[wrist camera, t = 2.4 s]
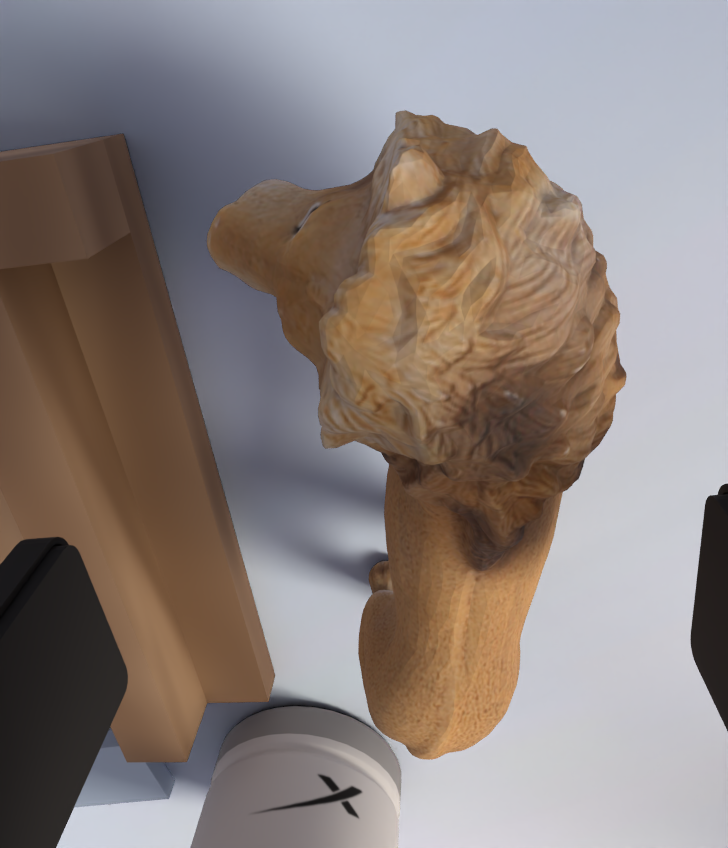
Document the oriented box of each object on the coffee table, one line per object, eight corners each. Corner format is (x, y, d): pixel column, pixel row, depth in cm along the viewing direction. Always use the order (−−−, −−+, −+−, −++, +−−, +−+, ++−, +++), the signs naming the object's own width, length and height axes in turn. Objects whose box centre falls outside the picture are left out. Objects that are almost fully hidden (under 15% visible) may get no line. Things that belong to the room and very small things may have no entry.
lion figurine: (288, 101, 14) (93, 179, 6) (562, 63, 13) (755, 96, 5) (376, 636, 21) (340, 1000, 13) (558, 632, 20) (638, 1014, 12)
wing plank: (146, 713, 24) (133, 744, 23) (179, 767, 25) (168, 798, 24) (-90, 741, 26) (-112, 771, 25) (-48, 790, 27) (-67, 820, 26)
